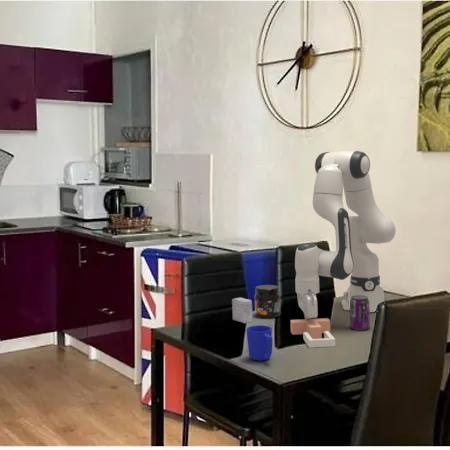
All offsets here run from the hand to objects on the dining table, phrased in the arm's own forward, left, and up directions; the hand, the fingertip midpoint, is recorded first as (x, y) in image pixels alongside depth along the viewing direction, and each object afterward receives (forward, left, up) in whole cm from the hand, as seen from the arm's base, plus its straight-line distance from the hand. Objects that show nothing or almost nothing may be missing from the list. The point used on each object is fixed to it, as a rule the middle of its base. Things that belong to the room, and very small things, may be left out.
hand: (307, 324), depth 244 cm
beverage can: (+1, +19, -2) cm, 20 cm away
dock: (+16, 0, -2) cm, 17 cm away
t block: (+7, 0, -2) cm, 8 cm away
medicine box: (-19, -23, -2) cm, 29 cm away
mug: (+33, -22, -2) cm, 40 cm away
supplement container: (-25, -12, -2) cm, 27 cm away
